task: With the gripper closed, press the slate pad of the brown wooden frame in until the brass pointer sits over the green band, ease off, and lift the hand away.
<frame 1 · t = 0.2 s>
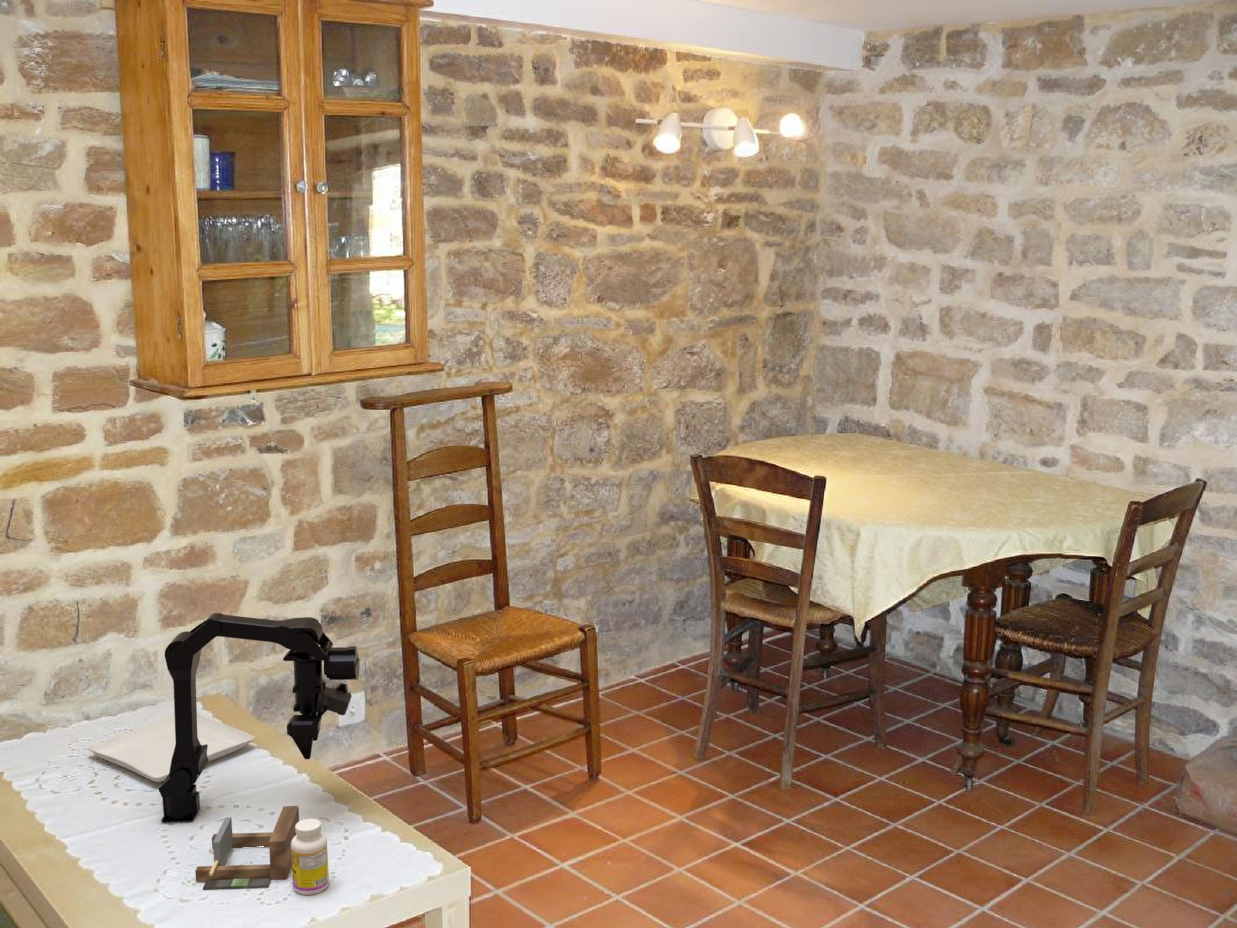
hand: (311, 749, 259), 14 cm above the table, tool pointing down, fingers open, 9 cm apart
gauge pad: (220, 849, 239), point 4 cm above the table, slide at 0.0 cm
square plate: (173, 756, 290), on the table
brown wooden frame: (242, 861, 242), on the table
supplement bottle: (311, 887, 234), on the table
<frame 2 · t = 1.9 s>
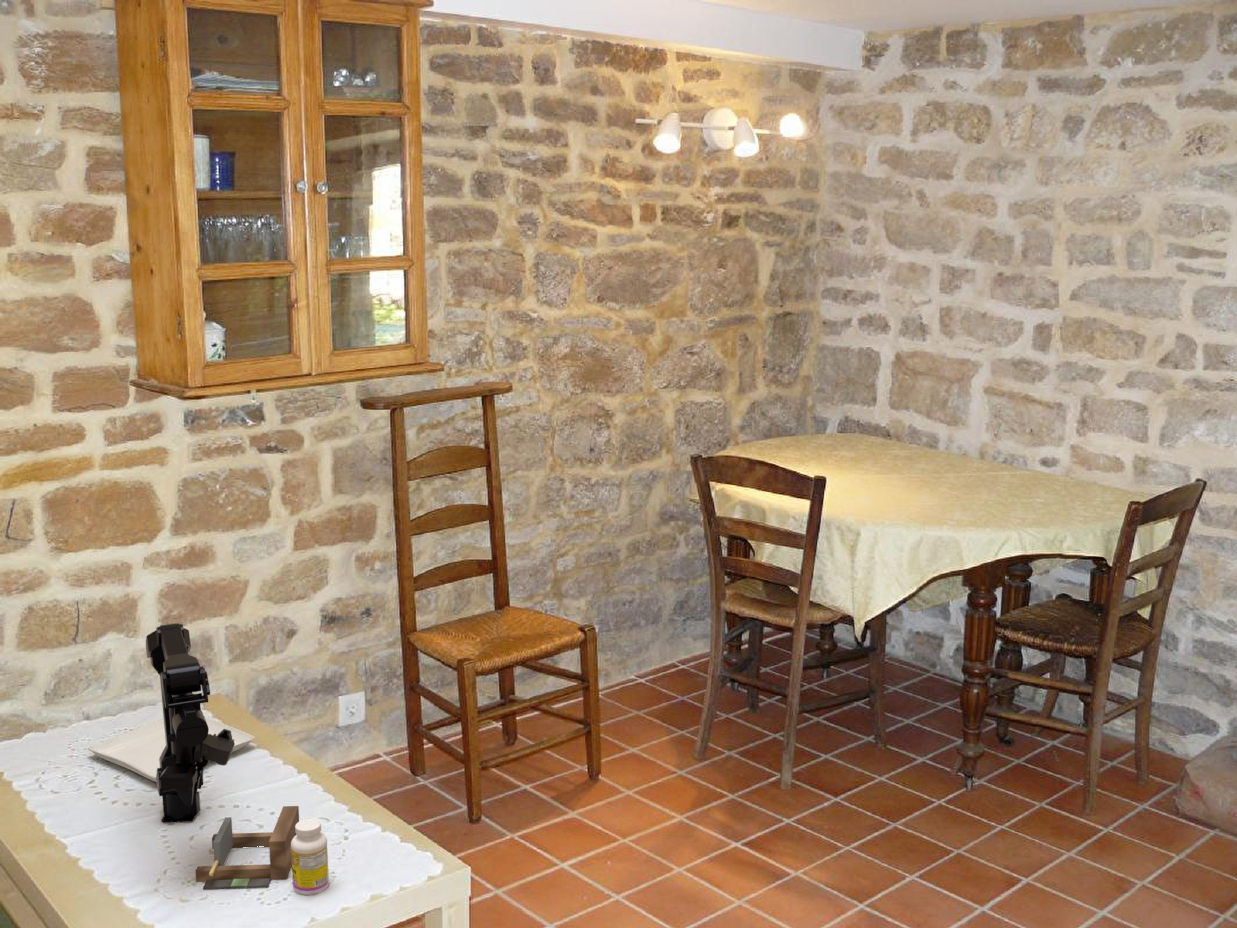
hand: (191, 801, 239), 13 cm above the table, tool pointing down, fingers open, 3 cm apart
nothing on the table moved.
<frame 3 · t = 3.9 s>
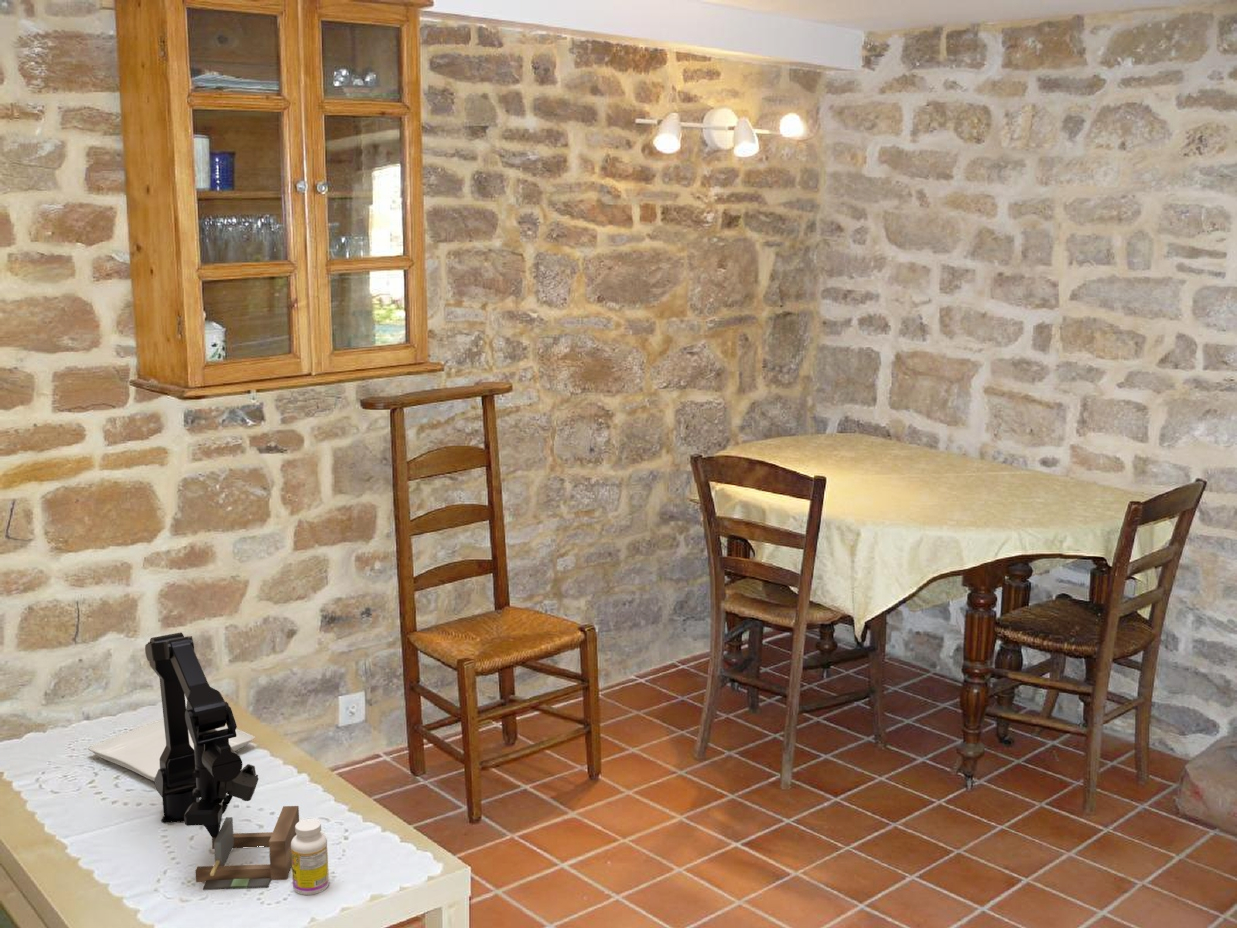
hand: (215, 836, 241), 6 cm above the table, tool pointing down, fingers closed, pressing on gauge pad
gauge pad: (221, 849, 239), point 4 cm above the table, slide at 0.2 cm, touching gripper
everything else where it was.
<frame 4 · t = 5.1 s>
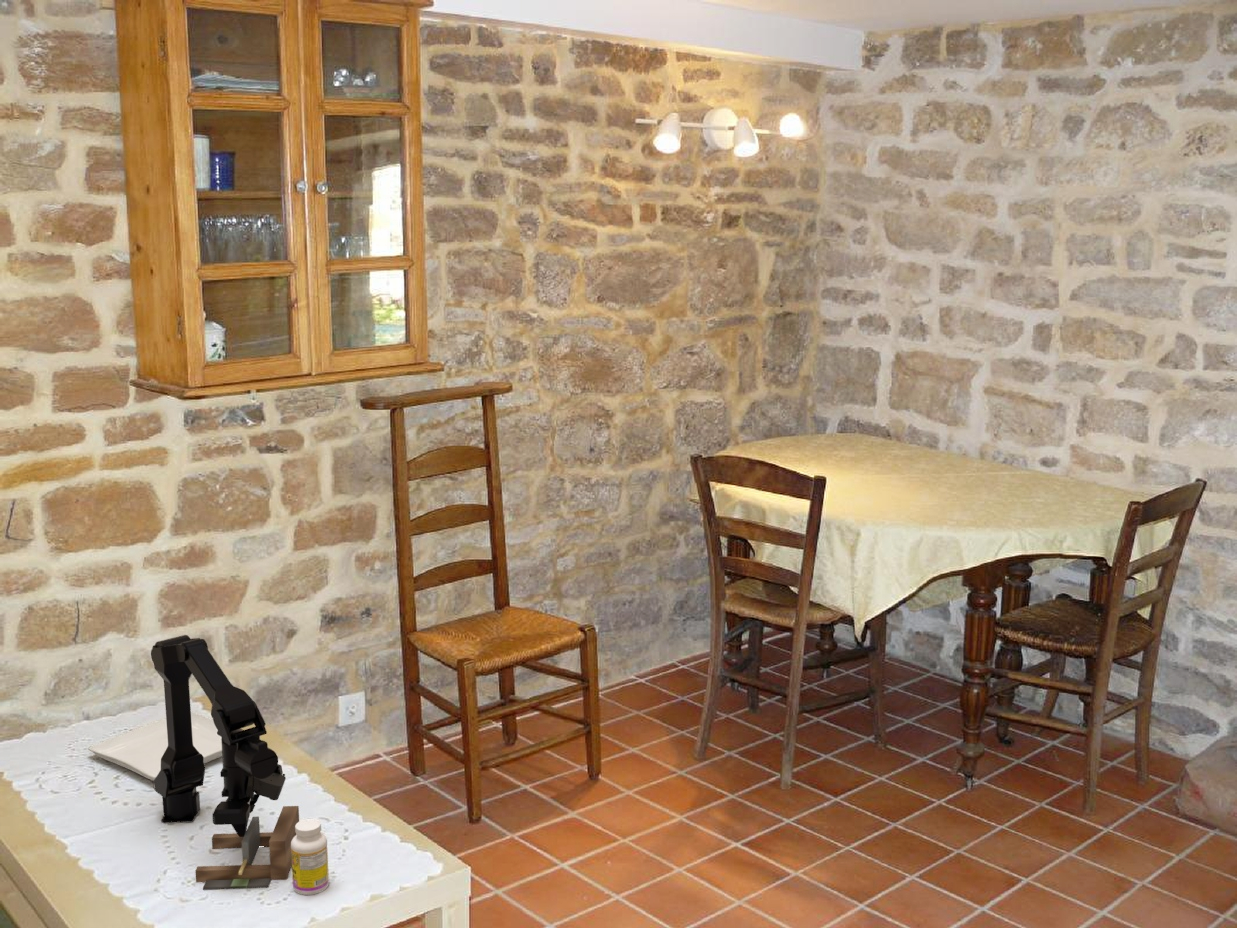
hand: (242, 835, 241), 6 cm above the table, tool pointing down, fingers closed, pressing on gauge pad
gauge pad: (248, 849, 239), point 4 cm above the table, slide at 5.4 cm, touching gripper
everything else where it was.
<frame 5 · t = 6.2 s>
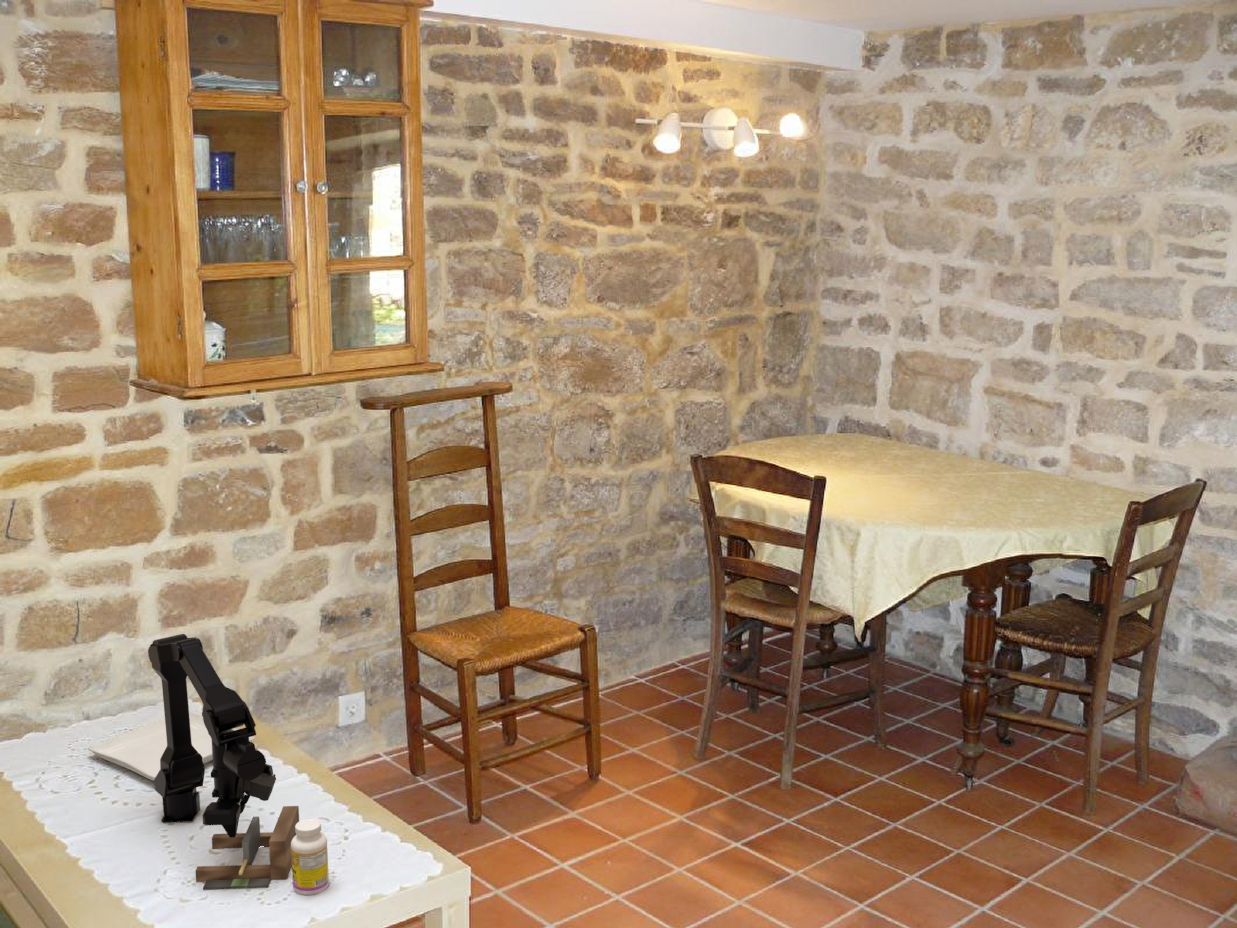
hand: (232, 836, 241), 5 cm above the table, tool pointing down, fingers closed
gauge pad: (248, 849, 239), point 4 cm above the table, slide at 5.4 cm
everything else where it was.
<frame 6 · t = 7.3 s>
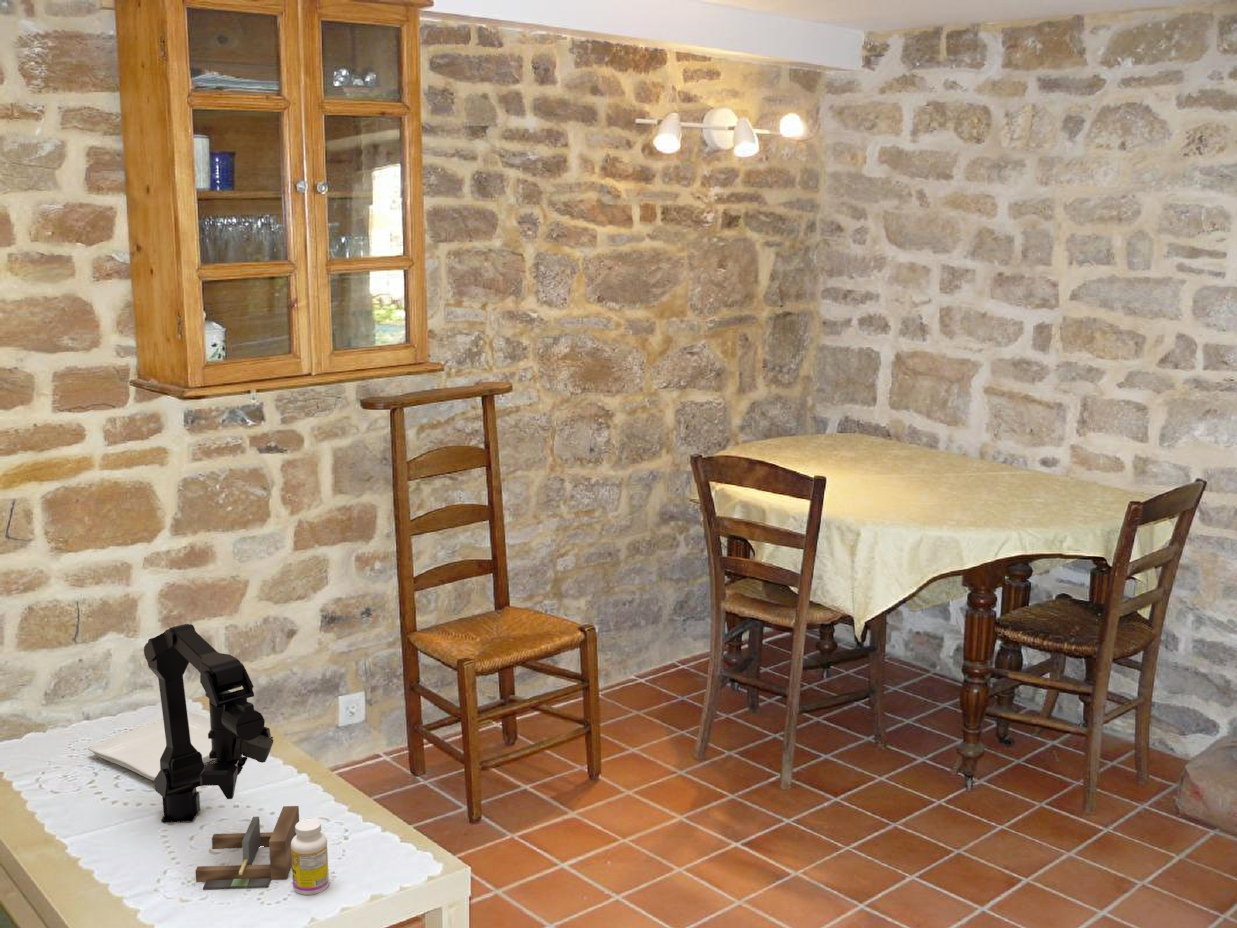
hand: (230, 798, 241), 13 cm above the table, tool pointing down, fingers closed
nothing on the table moved.
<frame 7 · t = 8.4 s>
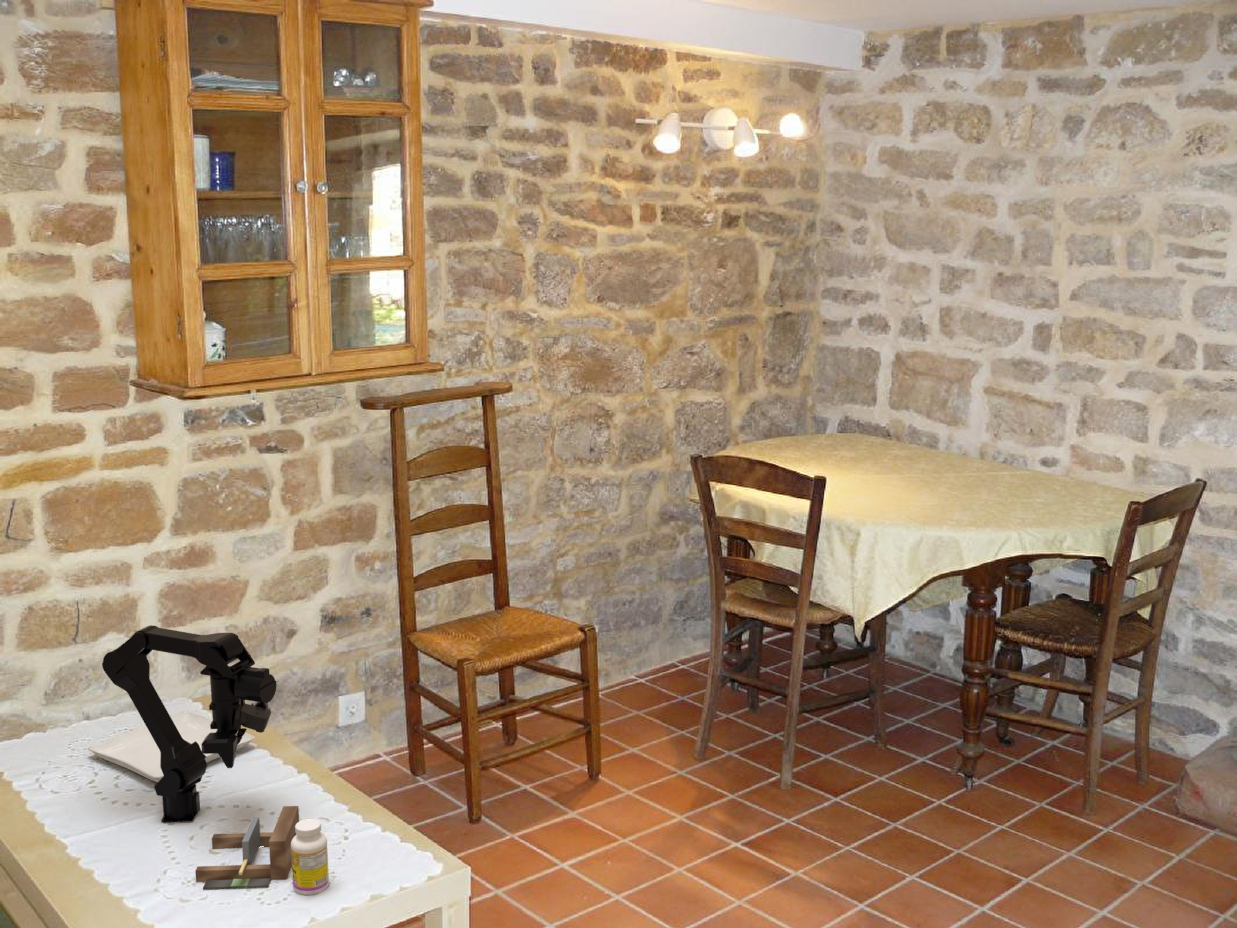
hand: (230, 767, 254), 13 cm above the table, tool pointing down, fingers closed
nothing on the table moved.
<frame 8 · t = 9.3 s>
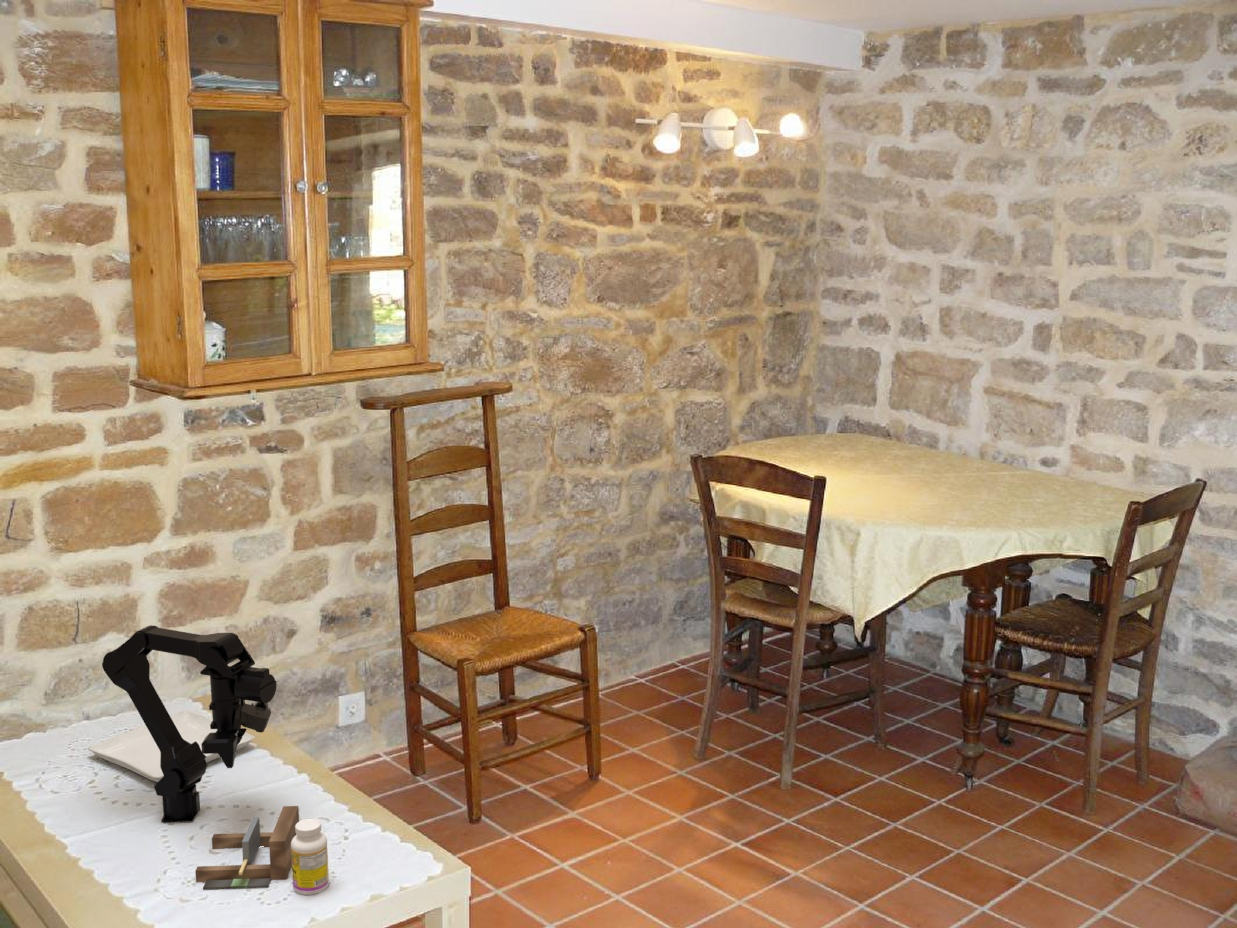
hand: (230, 767, 254), 13 cm above the table, tool pointing down, fingers closed
nothing on the table moved.
at the end: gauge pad slide at 5.4 cm; supplement bottle moved 0.2 cm from its start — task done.
